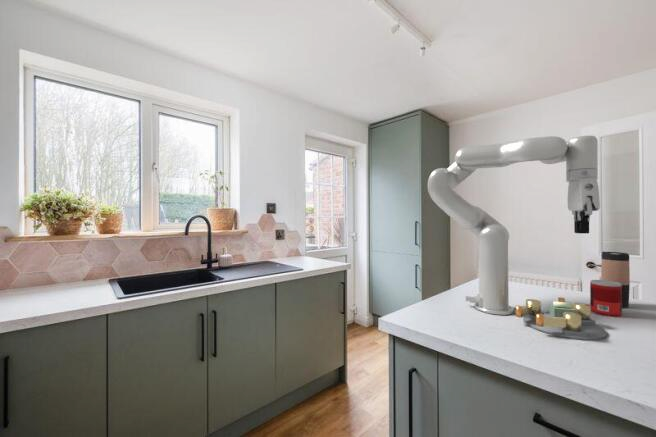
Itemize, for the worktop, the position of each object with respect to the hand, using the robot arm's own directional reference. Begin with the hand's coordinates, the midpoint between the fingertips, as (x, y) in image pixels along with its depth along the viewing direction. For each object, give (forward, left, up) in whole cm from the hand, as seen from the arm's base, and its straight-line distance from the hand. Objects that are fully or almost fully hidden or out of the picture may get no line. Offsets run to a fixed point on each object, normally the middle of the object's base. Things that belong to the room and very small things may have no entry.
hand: (581, 233), depth 91 cm
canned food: (+12, +14, -29) cm, 35 cm away
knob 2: (-11, -13, -27) cm, 32 cm away
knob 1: (-16, -4, -27) cm, 31 cm away
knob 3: (-2, +2, -27) cm, 27 cm away
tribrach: (-7, -5, -29) cm, 30 cm away
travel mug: (+20, +26, -29) cm, 44 cm away
